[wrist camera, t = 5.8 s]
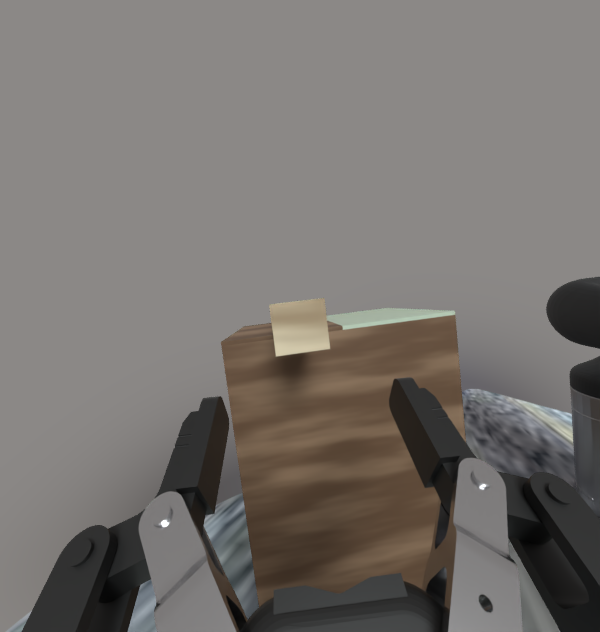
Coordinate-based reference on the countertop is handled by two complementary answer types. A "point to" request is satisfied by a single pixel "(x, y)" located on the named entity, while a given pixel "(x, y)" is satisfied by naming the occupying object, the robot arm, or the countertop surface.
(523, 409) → the countertop surface
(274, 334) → the beech baton
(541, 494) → the robot arm
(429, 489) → the walnut stand
